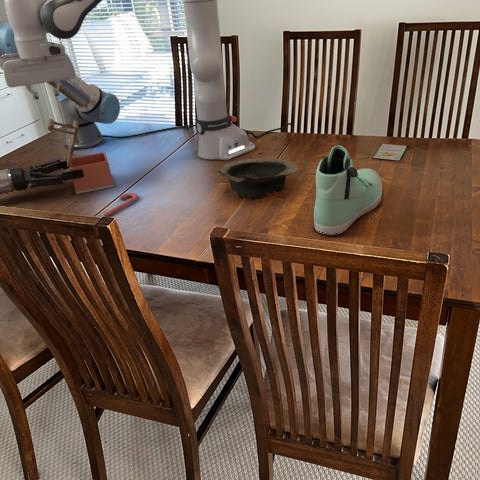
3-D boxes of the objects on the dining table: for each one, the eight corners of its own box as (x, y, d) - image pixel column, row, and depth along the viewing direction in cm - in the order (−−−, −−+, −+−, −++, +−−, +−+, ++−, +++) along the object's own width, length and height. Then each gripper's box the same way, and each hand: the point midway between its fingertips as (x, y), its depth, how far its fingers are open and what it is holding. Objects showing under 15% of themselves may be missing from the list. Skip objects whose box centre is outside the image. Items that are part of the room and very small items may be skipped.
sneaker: (389, 187, 148) (396, 123, 138) (356, 242, 123) (361, 168, 112) (346, 181, 154) (350, 119, 144) (306, 232, 129) (307, 161, 118)
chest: (110, 176, 172) (105, 151, 167) (113, 186, 164) (108, 161, 159) (74, 183, 169) (68, 158, 164) (76, 194, 161) (69, 168, 156)
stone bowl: (243, 213, 140) (240, 183, 136) (209, 189, 160) (205, 162, 156) (313, 190, 149) (312, 161, 144) (272, 170, 169) (270, 144, 165)
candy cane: (93, 214, 147) (92, 209, 146) (129, 194, 157) (128, 190, 156) (106, 218, 144) (105, 214, 143) (142, 198, 154) (141, 194, 153)
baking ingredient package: (373, 156, 168) (382, 143, 180) (373, 158, 168) (382, 144, 180) (399, 159, 165) (407, 145, 176) (399, 160, 165) (406, 146, 176)
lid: (76, 119, 159) (49, 112, 155) (78, 128, 151) (49, 120, 147) (69, 157, 164) (42, 151, 160) (70, 167, 156) (41, 161, 152)
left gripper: (17, 178, 168) (82, 166, 173) (14, 204, 150) (87, 190, 155) (11, 158, 164) (77, 146, 170) (6, 182, 146) (81, 168, 151)
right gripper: (-5, 56, 136) (11, 105, 143) (69, 47, 141) (80, 94, 148) (-3, 53, 141) (12, 100, 149) (68, 44, 146) (79, 90, 153)
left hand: (82, 167), depth 162 cm, fingers closed on chest, 10 cm apart
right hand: (47, 97), depth 148 cm, fingers open, 5 cm apart
